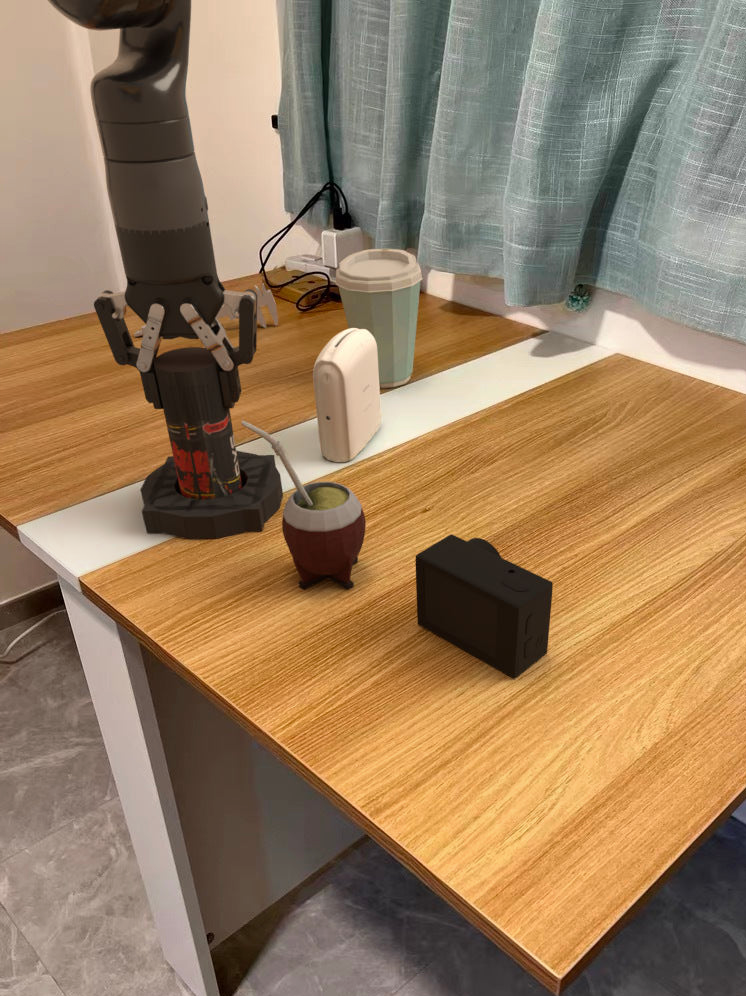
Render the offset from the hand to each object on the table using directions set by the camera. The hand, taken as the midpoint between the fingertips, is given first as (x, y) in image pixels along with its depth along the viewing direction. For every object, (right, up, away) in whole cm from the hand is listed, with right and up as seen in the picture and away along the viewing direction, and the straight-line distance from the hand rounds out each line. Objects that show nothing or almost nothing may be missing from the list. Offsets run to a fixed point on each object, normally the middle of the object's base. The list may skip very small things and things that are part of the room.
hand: (196, 404), depth 83 cm
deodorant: (0, -9, +6) cm, 11 cm away
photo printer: (+13, -1, +17) cm, 21 cm away
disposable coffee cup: (+15, +10, +32) cm, 36 cm away
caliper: (-11, +21, +46) cm, 51 cm away
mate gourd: (+12, -16, -4) cm, 21 cm away
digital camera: (+27, -21, -11) cm, 36 cm away
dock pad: (0, -9, +6) cm, 11 cm away
